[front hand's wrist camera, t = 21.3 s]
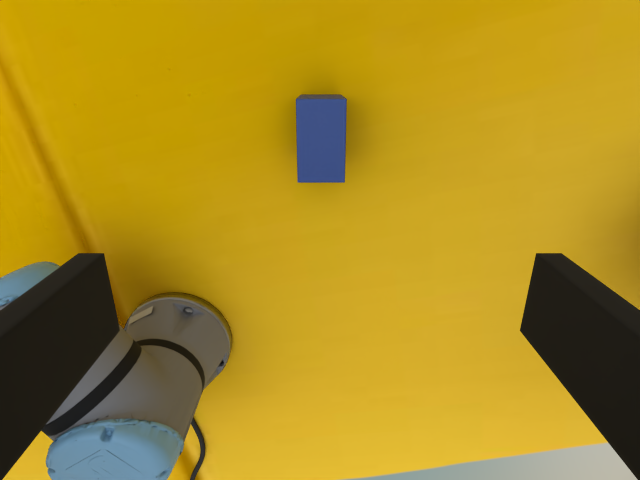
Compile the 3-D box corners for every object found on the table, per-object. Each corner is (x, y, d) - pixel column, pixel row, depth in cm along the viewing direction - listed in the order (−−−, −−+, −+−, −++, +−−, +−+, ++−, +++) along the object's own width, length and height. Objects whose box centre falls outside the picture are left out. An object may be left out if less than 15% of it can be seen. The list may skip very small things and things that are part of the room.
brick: (341, 94, 49) (346, 98, 39) (340, 163, 52) (344, 182, 42) (300, 94, 49) (295, 98, 39) (301, 163, 52) (297, 182, 42)
